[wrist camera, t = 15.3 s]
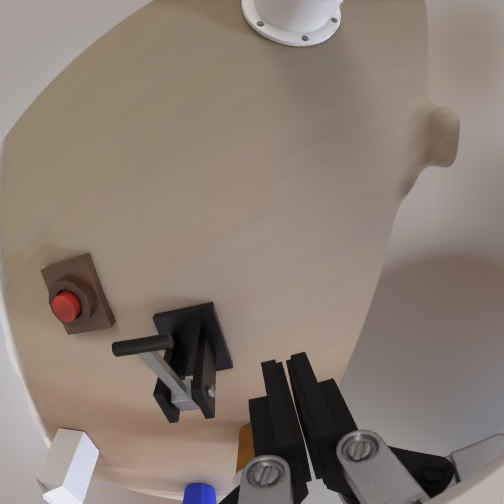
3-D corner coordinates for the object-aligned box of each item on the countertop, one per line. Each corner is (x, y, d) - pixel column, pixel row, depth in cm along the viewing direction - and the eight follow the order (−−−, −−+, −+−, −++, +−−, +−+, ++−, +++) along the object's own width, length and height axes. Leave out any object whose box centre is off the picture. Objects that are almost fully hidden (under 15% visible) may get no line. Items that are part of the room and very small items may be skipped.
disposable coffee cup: (242, 451, 45) (247, 502, 34) (221, 424, 43) (222, 481, 31) (291, 437, 45) (303, 489, 34) (274, 409, 42) (287, 466, 31)
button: (54, 293, 31) (48, 298, 29) (74, 288, 31) (68, 293, 29) (65, 317, 32) (59, 323, 30) (85, 313, 32) (79, 320, 30)
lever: (113, 333, 21) (109, 357, 19) (168, 323, 21) (167, 349, 19) (169, 393, 29) (169, 412, 27) (211, 387, 29) (213, 406, 27)
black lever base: (154, 314, 36) (127, 375, 24) (212, 301, 36) (207, 363, 24) (179, 372, 39) (167, 439, 27) (232, 363, 39) (236, 431, 27)
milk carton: (84, 430, 42) (56, 502, 24) (100, 451, 44) (78, 519, 26) (59, 427, 42) (29, 492, 24) (75, 447, 44) (51, 510, 26)
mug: (220, 474, 48) (221, 512, 38) (216, 495, 51) (217, 528, 41) (181, 471, 47) (178, 508, 37) (182, 492, 50) (180, 525, 40)
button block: (46, 266, 33) (33, 274, 30) (89, 253, 33) (77, 261, 30) (72, 329, 36) (62, 341, 32) (115, 321, 36) (107, 334, 33)
